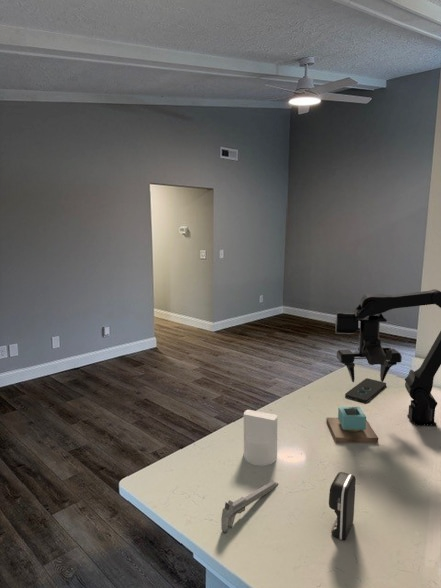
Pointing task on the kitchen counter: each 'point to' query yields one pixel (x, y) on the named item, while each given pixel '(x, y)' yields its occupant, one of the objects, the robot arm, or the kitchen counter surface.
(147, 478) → the kitchen counter surface
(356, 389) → the smart home device
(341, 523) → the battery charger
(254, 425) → the white upright block
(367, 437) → the stand
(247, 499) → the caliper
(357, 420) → the collar
